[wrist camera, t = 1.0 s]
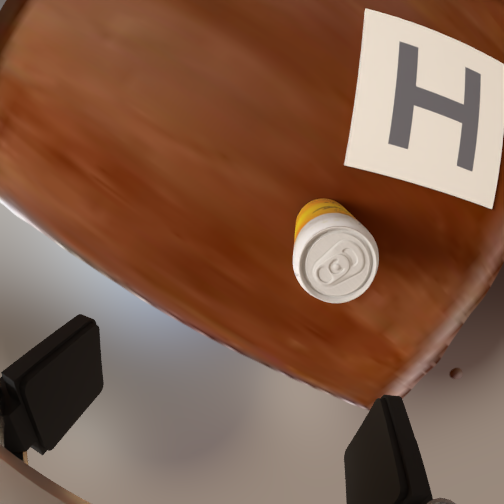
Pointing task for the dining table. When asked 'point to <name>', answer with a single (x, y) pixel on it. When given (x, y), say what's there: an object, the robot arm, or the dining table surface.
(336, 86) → the dining table surface
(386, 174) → the letter board
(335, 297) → the beer can
